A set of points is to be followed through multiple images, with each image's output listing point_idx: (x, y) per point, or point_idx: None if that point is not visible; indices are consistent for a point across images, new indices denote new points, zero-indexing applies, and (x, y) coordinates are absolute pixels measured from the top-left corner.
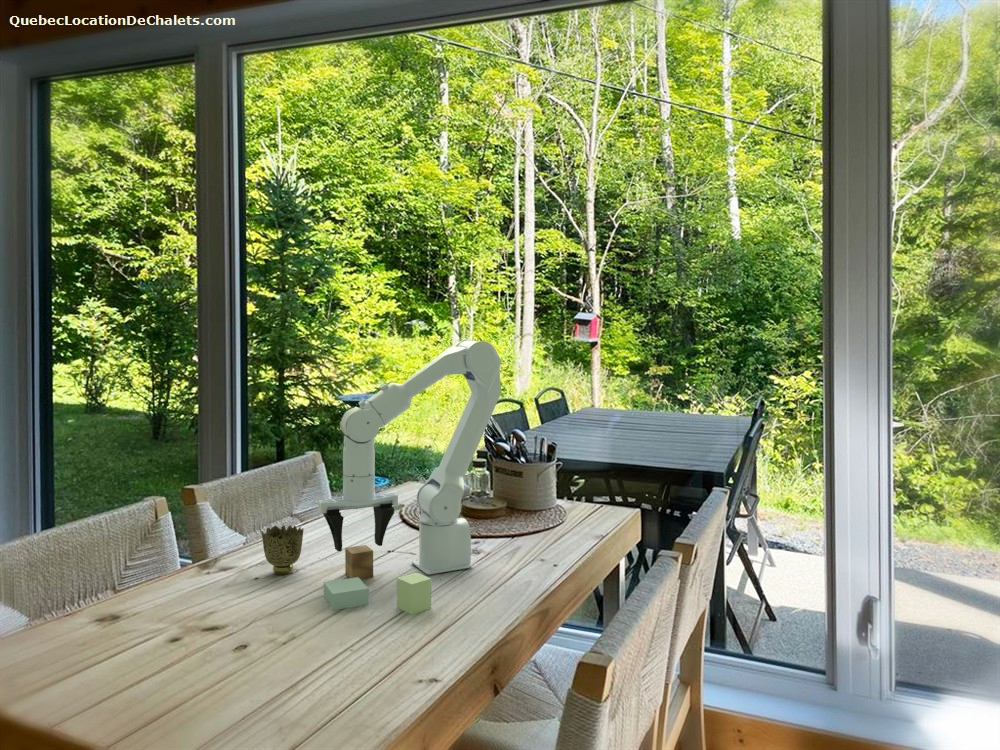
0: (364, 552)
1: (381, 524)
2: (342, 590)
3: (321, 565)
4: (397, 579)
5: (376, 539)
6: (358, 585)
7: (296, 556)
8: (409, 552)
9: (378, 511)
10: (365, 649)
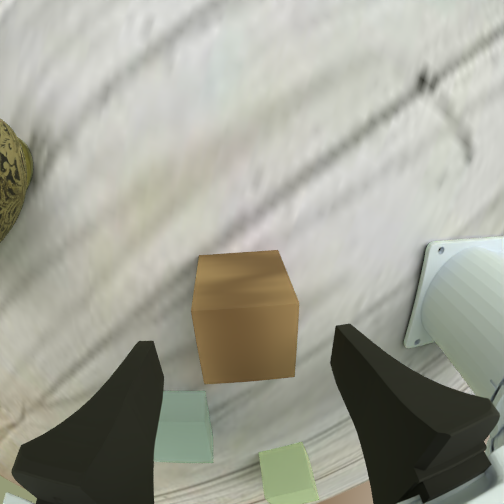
0: (257, 378)
1: (363, 450)
2: (157, 457)
3: (133, 125)
4: (265, 496)
5: (340, 355)
6: (195, 451)
7: (10, 229)
8: (464, 132)
9: (394, 477)
10: (181, 499)
